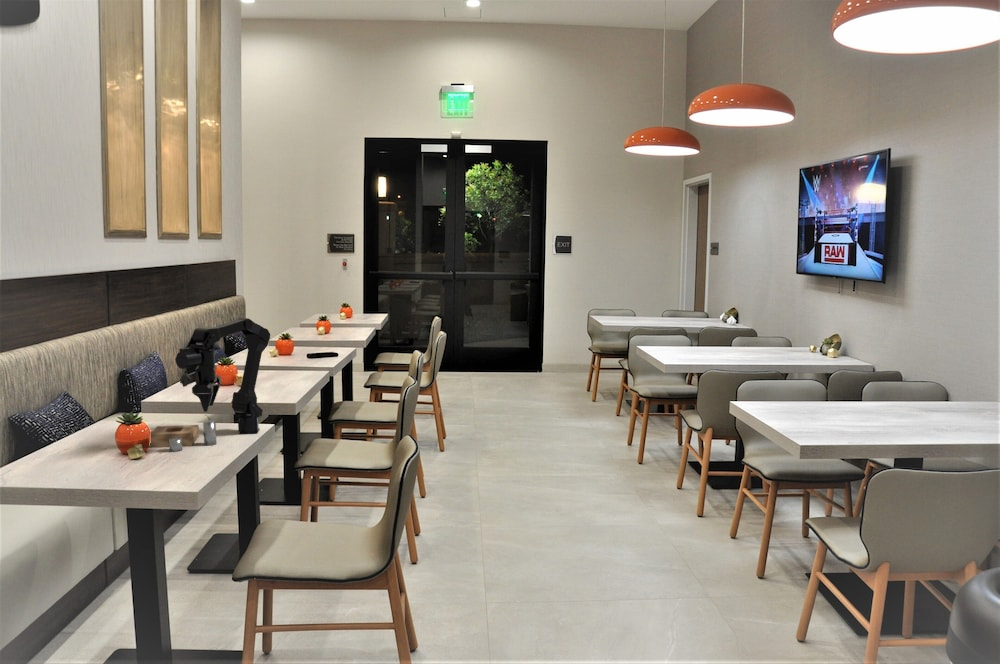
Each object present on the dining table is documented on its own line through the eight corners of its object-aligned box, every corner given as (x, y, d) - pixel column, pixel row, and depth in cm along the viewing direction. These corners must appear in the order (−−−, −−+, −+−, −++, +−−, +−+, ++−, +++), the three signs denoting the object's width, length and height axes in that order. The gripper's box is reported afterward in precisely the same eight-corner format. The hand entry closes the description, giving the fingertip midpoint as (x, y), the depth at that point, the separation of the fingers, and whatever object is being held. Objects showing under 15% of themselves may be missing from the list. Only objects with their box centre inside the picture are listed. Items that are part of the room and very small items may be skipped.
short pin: (183, 448, 262) (183, 437, 262) (180, 451, 258) (180, 440, 258) (171, 449, 262) (170, 437, 261) (168, 452, 258) (167, 440, 257)
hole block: (199, 436, 277) (198, 424, 277) (191, 445, 266) (191, 433, 265) (158, 438, 275) (157, 426, 274) (148, 447, 263) (148, 435, 263)
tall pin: (217, 442, 270) (216, 420, 269) (215, 445, 266) (214, 422, 265) (205, 442, 269) (204, 420, 268) (203, 446, 265) (202, 423, 264)
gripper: (187, 360, 272) (190, 403, 274) (174, 369, 254) (177, 415, 256) (220, 359, 274) (222, 402, 276) (209, 368, 255) (212, 414, 257)
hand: (208, 408), depth 266 cm, fingers open, 9 cm apart
